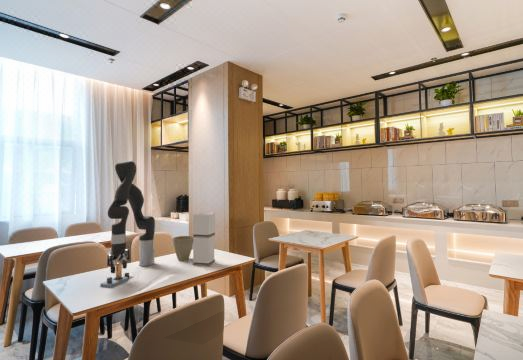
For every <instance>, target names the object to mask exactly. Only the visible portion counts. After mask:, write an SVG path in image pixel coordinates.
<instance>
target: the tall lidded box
mask: <svg viewBox="0 0 523 360" xmlns="http://www.w3.org/2000/svg"><path fill="white" fill-rule="evenodd" d="M192 237H193V245H192V261H193V262H192V265H193V266H197V267H198V266H199V267H210V266H212V265H213V264H215V263H216V259H215V237H216V213H215V212H199V213H194V214H192Z"/></svg>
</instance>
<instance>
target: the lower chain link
mask: <svg viewBox="0 0 523 360" xmlns="http://www.w3.org/2000/svg"><path fill="white" fill-rule="evenodd" d="M122 277H128V280H129V281H130V280H131V279H133V278H134V276H130V272H124V275H122ZM128 280H127V281H128ZM123 283H124V282H122V283H121V284H123Z"/></svg>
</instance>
